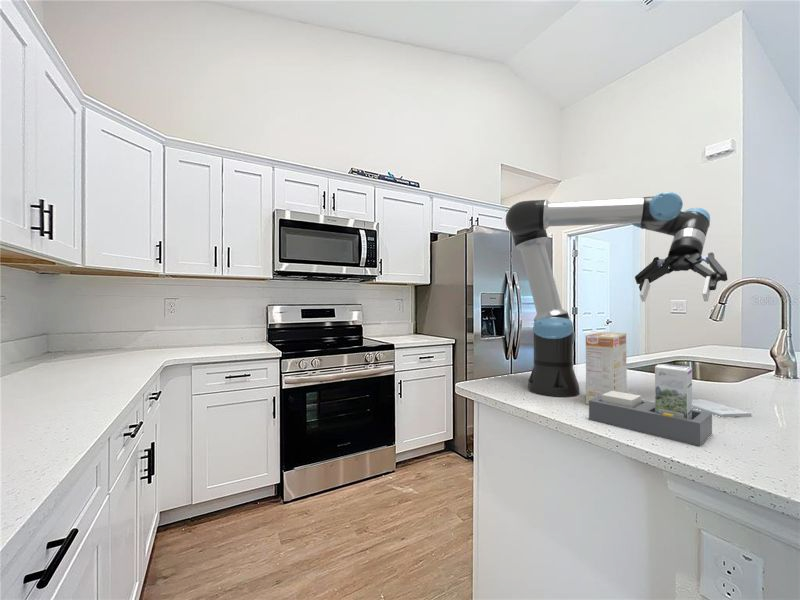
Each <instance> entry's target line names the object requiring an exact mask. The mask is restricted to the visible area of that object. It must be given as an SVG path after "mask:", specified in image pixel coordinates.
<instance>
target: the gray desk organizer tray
mask: <svg viewBox="0 0 800 600" xmlns="http://www.w3.org/2000/svg"><path fill="white" fill-rule="evenodd" d="M588 420H592V421H596V422H599V423H604V424H608V425H612V426H615V427H619V428H623V429H629V430H631V429H632V431H636V432H639V433H640V432H641V433H644V432H645V434H648V433H649V435H652V436H657V437H660V438H666V439H670V440H673V441H677V442H681V443H685V444H689V443H690V444H689V445H693V444H694V445H693V446H697V447H701V446H702V445H703V444H704V443H705V442H706V441H707V440H708V439H709V438H710V437H711V436H712V435H713V415H712V413H709V412H704V411H699V410H696V409H693V408H692V420H691V419H686V418H681V417H676V416H674V414H669V413H663V414H661V413H656V412H655V401H654V402H653V401H650V400H649V401H648V400H642V395H641V394H640V395H639V394H633V393H628V392H627V393H622V392H617V391H610V392H608V393H605V394H602V396H599V397H597V398H594V399H592V400H589V405H588ZM711 434H712V435H711ZM710 435H711V436H710ZM709 436H710V437H709ZM708 437H709V438H708Z"/></svg>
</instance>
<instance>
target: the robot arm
mask: <svg viewBox="0 0 800 600" xmlns="http://www.w3.org/2000/svg"><path fill="white" fill-rule="evenodd" d="M683 205H684V203H683V199H682V198H681V196H680V195H679V194H677V193H675V192H673V191H664V192H661V193H658V194H656V195H655V196H644V197H643V196H642V197H641V196H640V197H639V196H638V197H625V198H609V199H608V198H607V199H592V200H591V199H589V200H573V201H559V202H558V201H557V202H556V201H554V202H550V201H549V200H548V199H534V200H523V201H519V202H516V203H515V204H513V205H512V206H510V207H509V209H508V210H507V212H506V215H505V225H506V228H507V229H508V231H510V233H511V236H512V239H513V243H514V246H515V247H514V248H515V249H516V250H518V251H520V252H521V257H522V262H523V266H524V269H525V273H526V276H527V280H528V285H529V288H530V293H531V296H532V300H533V303H534V308H535V311H536V315H535V317H534V318H533V327H532V331H533V367H532V370H531V372H530V375H529V378H528V381H527V390H528V391H530V392H531V393H535V394H539V395H543V396H548V397H549V396H550V397H574V396H578V395H580V385H579V382H578V379H577V375H576V374H575V373H576V372H575V370H574V343H575V339H576V334H575V331H574V324H573V321H572V320H571V319H570V316H569V312H568V311H567V310H565V309H563V308H562V303H561V300H560V296H559V292H558V289H557V288H558V287H557V284H556V281H555V278H554V273H553V269H552V266H551V261H550V258H549V254H548V251H547V248H546V243H547V242H548V240H549V237H548V233H547V229H548V228H550V227H565V226H566V227H571V226H596V225H597V226H598V225H599V226H601V225H622V224H623V225H624V224H625V225H627V224H630V225H632V226H633V227H636V228H639V229H641V230H647V231H652V232H656V233H659V234H664V235H668V236H671V237H673V238H672V240H671V245H670V248H669V250H668V254H667V257H665V258H660V257H659V256H655V257H654V258H653V260H652V261H651V262H650V263H648V264H647V266H646V267H645V268H643V269H642V270H641V271H639V272H638V273H637V274H635V276H634V279H635V282H636V284H637V285H638V288H639V291H640V292H639V297H640V300H641V302H646V300H647V297H648V294H649V290H650V289H651V288H650V287H651V283H653V282H654V281H656V280H658V279H660V278H662V277H663V276H665V275H667V274H668V275H669V274H671V273H672V272H681V271H682V272H683V271H684V272H687V271H689V270H691V271H692V272H694V273H697V274H699V275H700V276H702V277H703V278H705V281H704V286H703V289H702V290H703V291H702V298H703V302H709V299H710V293H711V291H715V290H716V289H717V286H718V282H719V281H722V282H726V281H728V280H729V279H728V274H727V271H726V270H725V268H723V266H722V265H721V264H720V263H719V262H718V260H717V259H716V258H715V252H712V251H711V252H708V253H707V255H702V254H703V251H704V246H705V242H706V239H707V238H706V237H707V234H708V231H709V227H710V225H711V224H710V223H711V215H710V213H709V212H708V211H707V210H706V209H704V208H700V207H694V208H693V207H692V208H688V209H686V210H684V211H682V209H683ZM702 262H705V263H706V264H707V265H709V266H710V268H711V269H710V268H708V267H707V266H705V265H703V264H701V263H702Z"/></svg>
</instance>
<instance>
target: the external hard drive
mask: <svg viewBox="0 0 800 600" xmlns="http://www.w3.org/2000/svg"><path fill="white" fill-rule="evenodd" d="M692 407H693V408H695V409H694V410H696V409H698V411H699V410H701V411H704V412H709V413H712V414H713V415H712V416H715V415H717V416H716V417H718V416H720V417H719V418H721V417H731V418H750V417H751V418H752V413H751V412H747V411H744V410H740V409H737V408H734V407H730V406H727V405H723V404H720V403H717V402H714V401H710V400H707V399H703V398H702V399H701V398H699V399H692ZM693 408H692V409H693Z"/></svg>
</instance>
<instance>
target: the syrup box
mask: <svg viewBox="0 0 800 600" xmlns="http://www.w3.org/2000/svg"><path fill="white" fill-rule="evenodd" d="M692 400H693V368H692V366H685V365H676V364H668V363H667V364H665V363H659V364H656V365H655V366H654V402H655V412H656V413H661V414H663V413H669V414H674V416H676V417H681V418H686V419H691V420H692V409H693V408H692Z"/></svg>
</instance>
